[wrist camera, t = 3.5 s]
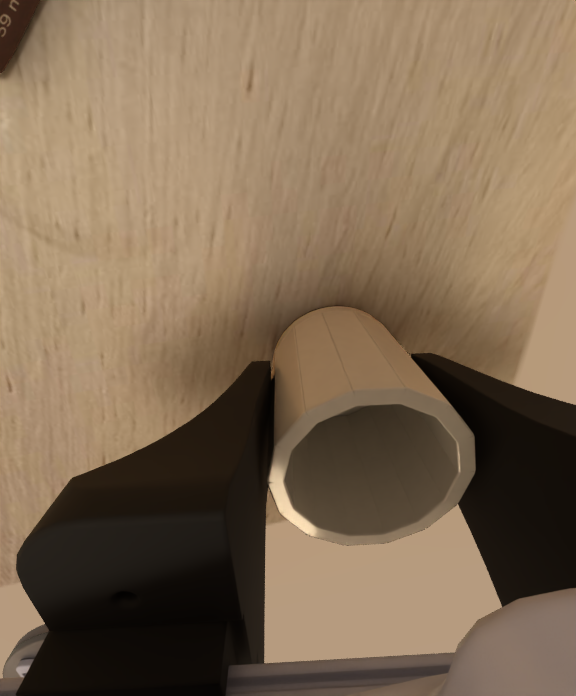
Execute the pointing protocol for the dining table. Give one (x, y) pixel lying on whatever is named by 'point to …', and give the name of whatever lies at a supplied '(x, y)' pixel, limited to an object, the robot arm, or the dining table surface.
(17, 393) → the dining table surface
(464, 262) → the dining table surface
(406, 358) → the pot
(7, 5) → the box
